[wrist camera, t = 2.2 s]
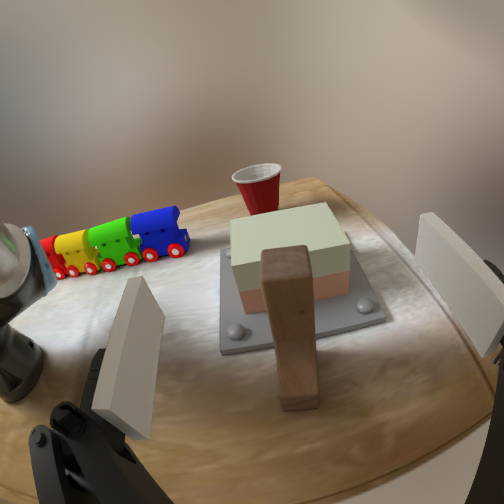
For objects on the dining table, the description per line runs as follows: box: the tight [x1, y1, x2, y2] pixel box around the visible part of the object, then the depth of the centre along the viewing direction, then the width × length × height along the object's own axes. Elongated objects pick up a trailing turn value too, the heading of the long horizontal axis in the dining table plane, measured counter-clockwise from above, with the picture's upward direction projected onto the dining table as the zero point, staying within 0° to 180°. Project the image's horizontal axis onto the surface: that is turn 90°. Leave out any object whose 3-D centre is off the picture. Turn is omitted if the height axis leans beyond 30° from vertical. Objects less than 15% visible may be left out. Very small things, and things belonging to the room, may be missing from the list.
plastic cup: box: [232, 163, 281, 216], centre depth 65 cm, size 11×11×12 cm
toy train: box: [40, 206, 190, 280], centre depth 62 cm, size 45×7×11 cm, turn 95°
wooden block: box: [260, 245, 319, 411], centre depth 30 cm, size 9×4×18 cm, turn 177°
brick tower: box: [220, 202, 386, 355], centre depth 46 cm, size 24×24×11 cm
